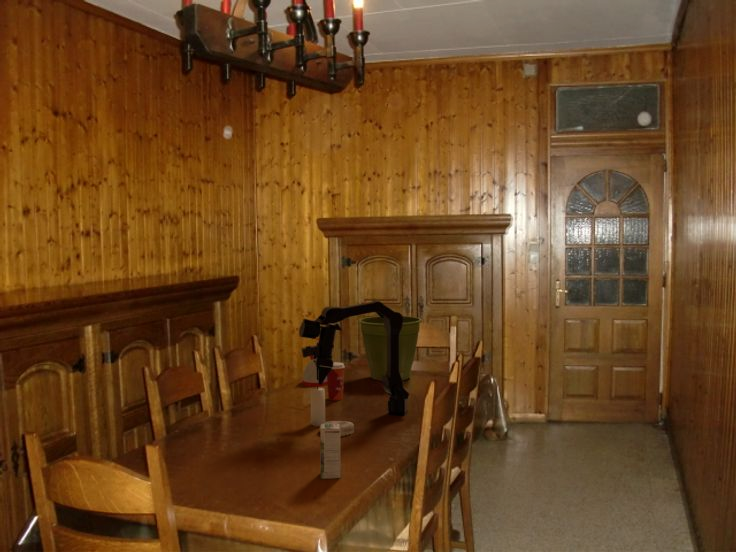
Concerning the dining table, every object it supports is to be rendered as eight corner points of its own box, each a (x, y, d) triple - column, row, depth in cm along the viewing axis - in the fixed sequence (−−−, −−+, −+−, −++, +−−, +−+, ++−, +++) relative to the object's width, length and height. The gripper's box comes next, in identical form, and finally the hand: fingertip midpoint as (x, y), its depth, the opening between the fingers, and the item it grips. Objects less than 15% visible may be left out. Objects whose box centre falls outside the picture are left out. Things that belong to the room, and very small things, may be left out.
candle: (327, 423, 252) (326, 385, 251) (322, 426, 247) (321, 388, 246) (314, 422, 254) (313, 384, 253) (308, 425, 249) (308, 387, 248)
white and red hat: (315, 378, 332) (314, 348, 331) (337, 382, 323) (337, 350, 323) (296, 384, 320) (295, 352, 319) (318, 387, 312) (318, 355, 311)
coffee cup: (342, 401, 285) (342, 365, 284) (323, 400, 286) (323, 365, 286) (347, 396, 293) (346, 362, 292) (328, 396, 295) (328, 361, 294)
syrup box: (320, 472, 199) (319, 423, 198) (340, 471, 199) (339, 422, 199) (320, 479, 193) (319, 429, 192) (341, 478, 194) (340, 428, 193)
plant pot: (364, 371, 347) (363, 315, 345) (423, 372, 343) (422, 315, 341) (355, 384, 317) (354, 323, 316) (419, 385, 313) (418, 323, 312)
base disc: (358, 428, 244) (358, 421, 244) (347, 437, 233) (347, 431, 233) (327, 425, 248) (327, 419, 248) (314, 435, 237) (314, 428, 237)
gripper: (303, 334, 261) (296, 375, 260) (306, 339, 242) (298, 383, 242) (332, 339, 262) (325, 379, 262) (336, 344, 244) (329, 387, 243)
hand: (319, 382), depth 252 cm, fingers open, 9 cm apart
